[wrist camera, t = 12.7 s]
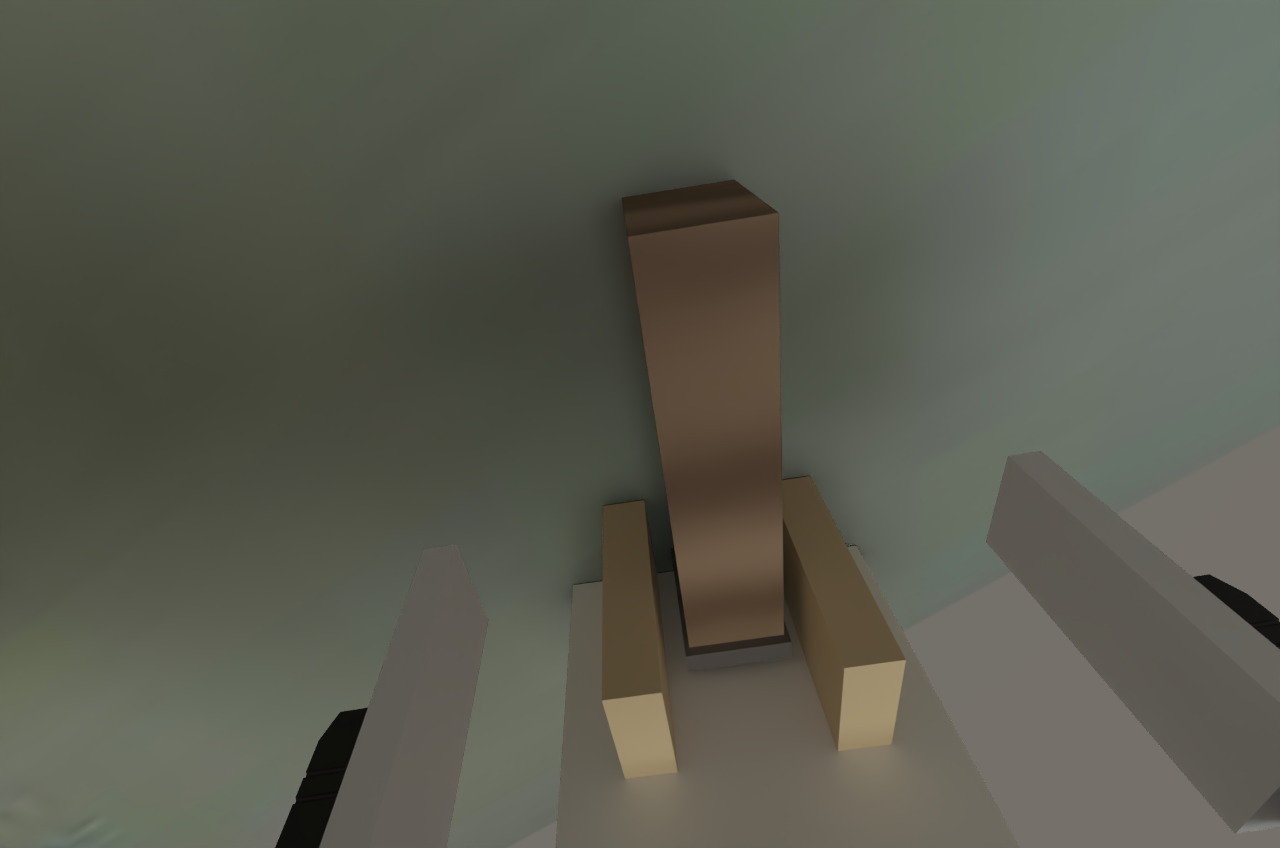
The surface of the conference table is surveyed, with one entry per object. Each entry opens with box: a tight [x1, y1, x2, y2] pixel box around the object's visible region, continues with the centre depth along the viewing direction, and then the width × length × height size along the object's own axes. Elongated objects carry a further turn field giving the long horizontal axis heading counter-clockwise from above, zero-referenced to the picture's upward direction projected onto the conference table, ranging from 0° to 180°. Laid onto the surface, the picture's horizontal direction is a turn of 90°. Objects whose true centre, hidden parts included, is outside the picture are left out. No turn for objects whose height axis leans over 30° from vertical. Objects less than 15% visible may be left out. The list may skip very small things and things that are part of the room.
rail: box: [622, 180, 792, 671], centre depth 22 cm, size 18×4×6 cm, turn 8°
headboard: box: [556, 476, 1020, 848], centre depth 21 cm, size 6×15×18 cm, turn 98°
